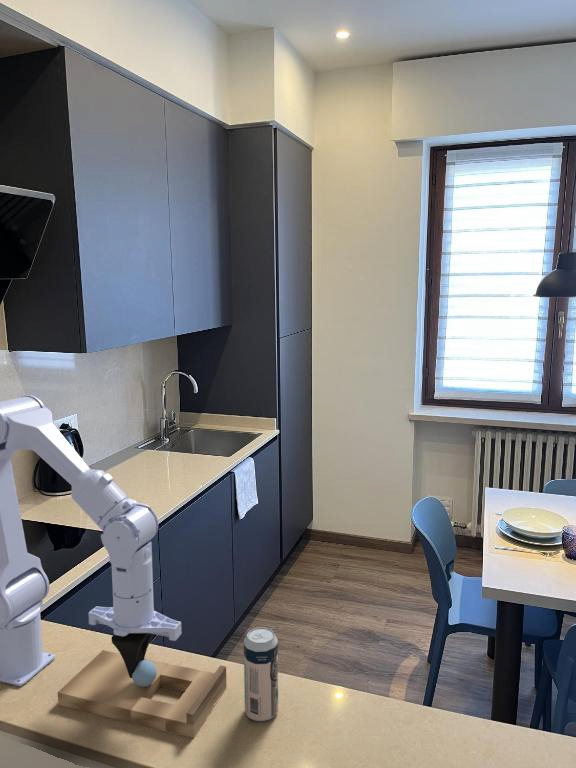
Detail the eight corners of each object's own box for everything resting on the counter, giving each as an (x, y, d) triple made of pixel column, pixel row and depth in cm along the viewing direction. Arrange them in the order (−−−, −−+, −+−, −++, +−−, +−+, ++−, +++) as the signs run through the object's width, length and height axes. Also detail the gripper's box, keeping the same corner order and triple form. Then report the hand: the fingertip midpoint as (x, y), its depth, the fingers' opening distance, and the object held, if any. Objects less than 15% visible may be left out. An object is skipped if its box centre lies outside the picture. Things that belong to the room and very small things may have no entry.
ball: (129, 665, 86) (150, 675, 85) (142, 651, 89) (163, 660, 88) (125, 686, 86) (146, 696, 85) (138, 671, 90) (159, 681, 89)
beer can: (283, 718, 83) (282, 640, 81) (250, 728, 81) (249, 647, 79) (271, 697, 87) (270, 622, 86) (240, 706, 86) (239, 629, 84)
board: (58, 704, 86) (56, 683, 85) (103, 661, 96) (102, 641, 96) (193, 738, 79) (193, 714, 79) (226, 687, 90) (226, 666, 89)
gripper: (73, 594, 84) (78, 681, 86) (163, 610, 80) (166, 701, 82) (103, 572, 91) (106, 653, 93) (187, 586, 86) (189, 671, 88)
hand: (136, 674), depth 88 cm, fingers closed, pressing on ball
